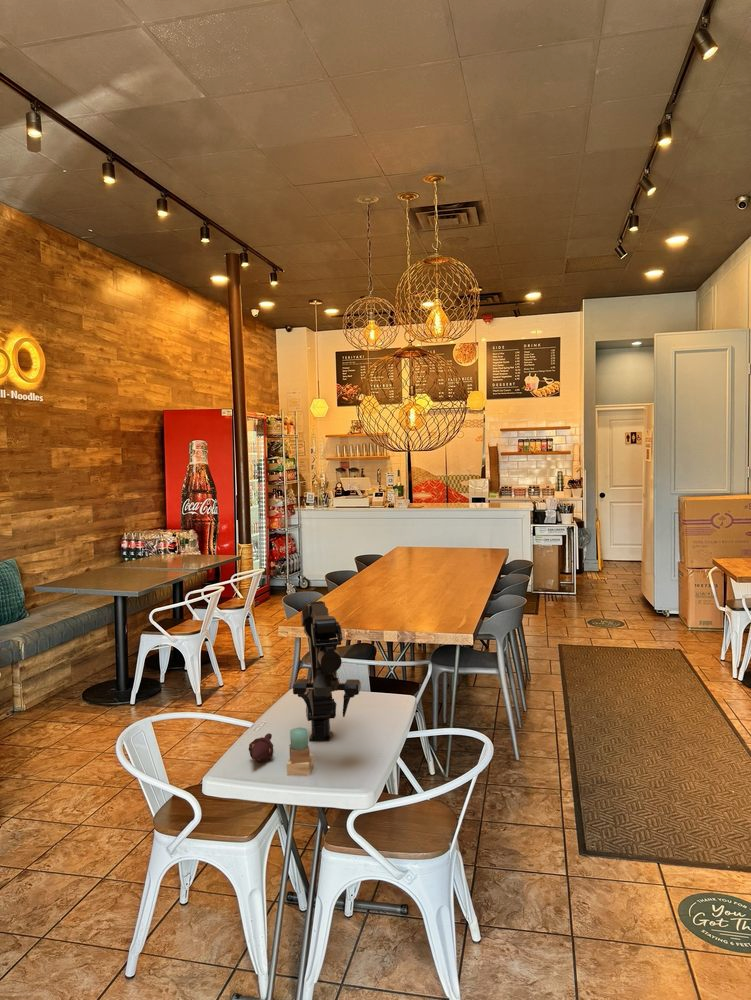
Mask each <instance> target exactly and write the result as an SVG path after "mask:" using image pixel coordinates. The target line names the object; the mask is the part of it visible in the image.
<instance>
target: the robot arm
mask: <svg viewBox="0 0 751 1000" xmlns="http://www.w3.org/2000/svg"><path fill="white" fill-rule="evenodd" d="M300 623H301V627H303V633H304V634H305V636H306V637H307V638H308V640H309V650H310V651H309V653H310V655H309V656H310V665H311V666H310V669H311V679H310V678H309V679H308V678H298V679H297V680H296V681H295V682H294V684H293V685H292V693H293V695H297V697H298V698H301V699H303V701H304V703H305V713H306V714H305V715H306V716H305V717H306V719H307V722H311V723H310V724H311V725H310V726H311V734H310V735H309V737H308V741H313V742H314V741H315V742H317V741H319V742H320V741H322V742H324V741H327V742H329V741H331V739H332V736H333V732H334V731H331V723H330V722H331V720H330V719H335V717H336V715H337V714H336V713H337V703H336V701H335V698H333V693H332V692H337V691H344V692H343V693H344V694H343V706H342V718H345V716H346V713H347V709H348V706H349V703H350V700H351V698H354V697H355V696H359V695H360V691H361V689H362V685H361V683H362V682H361V681H360V680H359V679H354V678H353V679H351V678H350V679H346V681H345V682H342V683H341V682H340V681H339V678H338V675H337V674H338V673H337V672H338V670H339V669H340V668H341V667H342V658H341V655H340V653H339V652H338V650H337V646H341V645H342V641H343V639H344V638H343V632H342V626H341V625H340V622H339V621H337V619H336V618H335V616H332V615H330V614H329V609H328V607H327V606H326V602H325V601H323V600H316V601H310V602H308V603H307V606H306V607H305V608H303V609H302V610H301V616H300ZM311 681H312V682H311Z"/></svg>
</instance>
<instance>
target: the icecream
mask: <svg viewBox="0 0 751 1000" xmlns="http://www.w3.org/2000/svg"><path fill="white" fill-rule="evenodd" d="M272 737H273V734H272V733H271V732H269V733H268V732H267V733H266V734H265V735H264V737H263V736H261V737H258V738H255V739H253V740H252V741H251V742H249V744H248V751H249V756H250V758H252V759H253V760H254V761H255V762H257V763H267V762H269V760H270V759H271V758H272V757H273V755H274V743H273V742H272V741H271V739H272Z"/></svg>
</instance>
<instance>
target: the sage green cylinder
mask: <svg viewBox="0 0 751 1000" xmlns="http://www.w3.org/2000/svg"><path fill="white" fill-rule="evenodd" d="M308 732H309V730H308V728H306V727H296V728H292V729H290V731H289V734H290V735H289V736H290V737H289V738H290V739H289V740H290V744H291V749H293V750H304V749H306V748H308V746H309V736H308V735H309V733H308Z"/></svg>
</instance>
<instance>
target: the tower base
mask: <svg viewBox="0 0 751 1000" xmlns="http://www.w3.org/2000/svg"><path fill="white" fill-rule="evenodd" d="M313 768H314V755H313V754H310V762H303V763H295V764H292V763H291V759H290V758H289V759H288V761H287V762H286V774H287V776H306V775H309V776H310V773H311V771H312V770H313Z"/></svg>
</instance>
